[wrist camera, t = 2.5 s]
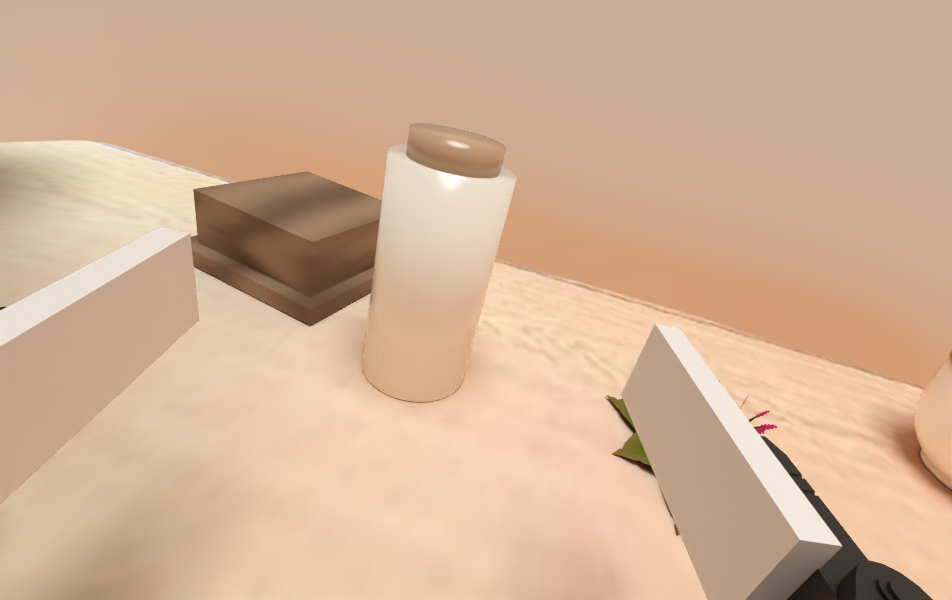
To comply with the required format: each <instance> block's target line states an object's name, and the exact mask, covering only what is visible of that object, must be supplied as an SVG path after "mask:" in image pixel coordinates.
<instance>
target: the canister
mask: <svg viewBox="0 0 952 600" xmlns="http://www.w3.org/2000/svg"><path fill="white" fill-rule="evenodd" d="M505 150H506V147H505V146H504V145H503V144H501V143H500V142H498V141H495V140H493V139H491V138H488V137H485V136H482V135H479V134H476V133H472V132H468V131H465V130H460V129H456V128H451V127H446V126H440V125H433V124H423V123H417V124H412V125H410V129H409V137H408V143H407V145H397V146H392V147H390V148H389V149H388V156H387V165H386V174H385V181H384V189H383V198H382V205H381V214H380V222H379V230H378V238H377V247H376V255H375V263H374V271H373V279H372V288H371V296H370V304H369V312H368V321H367V329H366V337H365V345H364V354H363V362H362V367H363V371H364V374H365V376H366V378H367V379H368V380H369V382H370V383H371V384H372V385H373V386H374V387H376V388H377V389H378V390H380V391H381V392H383V393H385V394H387V395H389V396H391V397H394V398H397V399H401V400H405V401H412V402H429V401H435V400H440V399H443V398H445V397H447V396H449V395H451V394H453V393H454V392H455V391H456V390H457V389H458V388H459V387H460V386H461V384H462V382H463V379H464V375H465V371H466V367H467V364H468V360H469V356H470V352H471V349H472V345H473V341H474V337H475V333H476V330H477V326H478V322H479V318H480V314H481V311H482V307H483V303H484V299H485V296H486V292H487V288H488V284H489V280H490V277H491V273H492V269H493V265H494V261H495V258H496V253H497V250H498V246H499V243H500V239H501V235H502V231H503V227H504V224H505V220H506V216H507V212H508V209H509V204H510V201H511V197H512V193H513V190H514V186H515V182H516V176H515V175H514V174H513V173H512V172H511V171H509V170H508V169H506V168H504V167H502V163H503V159H504V154H505Z"/></svg>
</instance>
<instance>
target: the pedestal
mask: <svg viewBox="0 0 952 600" xmlns="http://www.w3.org/2000/svg"><path fill="white" fill-rule="evenodd" d="M194 200H195V211H196V222H197V233H198V235H197V236H193V237H191V246H192V256H193V266H194V267H196V268H198V269H200V270H202V271H204V272H206V273H208V274H210V275H212V276H214V277H216V278H218V279H220V280H222V281H224V282H226V283H228V284H229V285H231V286H233V287H235V288H237V289H239V290H241V291H243V292H245V293H247V294H249V295H251V296H253V297H255V298H257V299H259V300H261V301H263V302H265V303H266V304H268V305H270V306H272V307H274V308H276V309H278V310H280V311H282V312H284V313H286V314H288V315H290V316H292V317H294V318H296V319H298V320H300V321H301V322H303V323H305V324H307V325H309V326H311V325H313V324H315V323H316V322H318V321H320V320H322V319H324V318H325V317H327V316H329V315H331V314H333V313H334V312H336V311H338V310H340V309H342V308H343V307H345V306H347V305H349V304H351V303H352V302H354V301H356V300H358V299H360V298H361V297H363V296H365V295H367V294H369V293H370V292H371V288H372V279H373V271H374V263H375V255H376V247H377V238H378V230H379V222H380V214H381V205H382V200H379V199H377V198H374V197H371V196H369V195H366V194H364V193H361V192H358V191H356V190H353V189H351V188H348V187H346V186H343V185H341V184H338V183H335V182H333V181H330V180H327V179H325V178H322V177H320V176H317V175H315V174H312V173H310V172H301V173H295V174H288V175H282V176H275V177H270V178H263V179H256V180H250V181H244V182H237V183H230V184H224V185H218V186H211V187H205V188H198V189H194Z"/></svg>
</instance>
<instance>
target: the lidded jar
mask: <svg viewBox="0 0 952 600" xmlns="http://www.w3.org/2000/svg"><path fill="white" fill-rule="evenodd" d="M914 425H915V431H916V435H917V438H918V441H919V444H920V446H921V448H922V450H921V451H920V457H921V460H922V461H923V463H924V464H925V466H926V467H927V468H928V470H929V471H930V472H931V473H932V474H933V475H934V476H935V477H936V478H937V479H938V480H939V481H941V482H942V483H943V484H944V485H945V486H947V487H948V488H949V489H950V490H952V352H951V353H950V357H949V359H948V360H947V361H946V362H945V363H944V364H943V365H942V366H941V367H940V368H939V369H938V370H937V372H936V373H935V374H934V375H933V377H932V378H931V379H930V380H929V382H928V384H927V385H926V387H925V388H924V390H923V391H922V394H921V396H920V398H919V400H918V402H917V406H916V411H915V416H914Z"/></svg>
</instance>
